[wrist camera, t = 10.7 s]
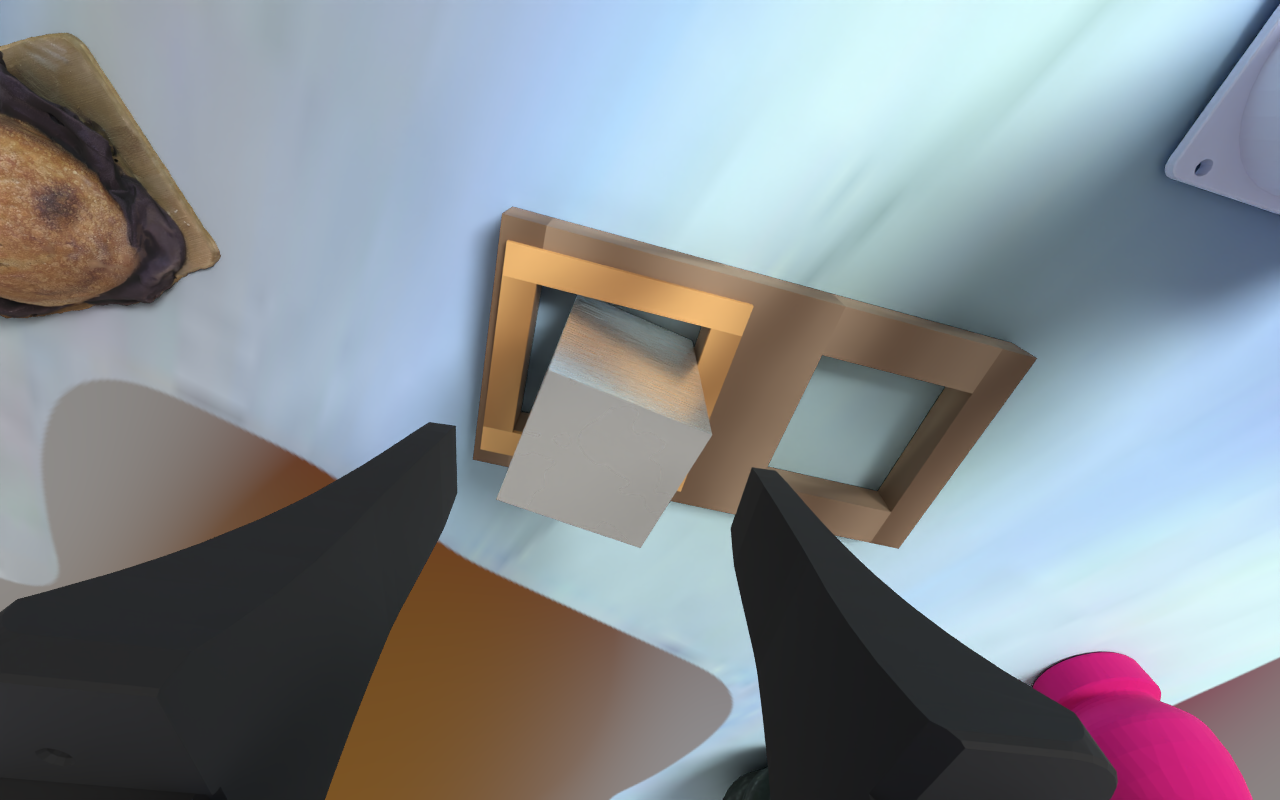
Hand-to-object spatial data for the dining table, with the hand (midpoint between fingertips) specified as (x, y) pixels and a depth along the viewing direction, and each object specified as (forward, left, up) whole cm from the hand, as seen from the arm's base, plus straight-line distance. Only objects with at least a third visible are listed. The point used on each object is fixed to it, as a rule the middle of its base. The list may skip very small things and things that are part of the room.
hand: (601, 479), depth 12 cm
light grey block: (0, +2, -9) cm, 10 cm away
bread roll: (+22, 0, -10) cm, 24 cm away
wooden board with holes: (-5, +2, -9) cm, 11 cm away
